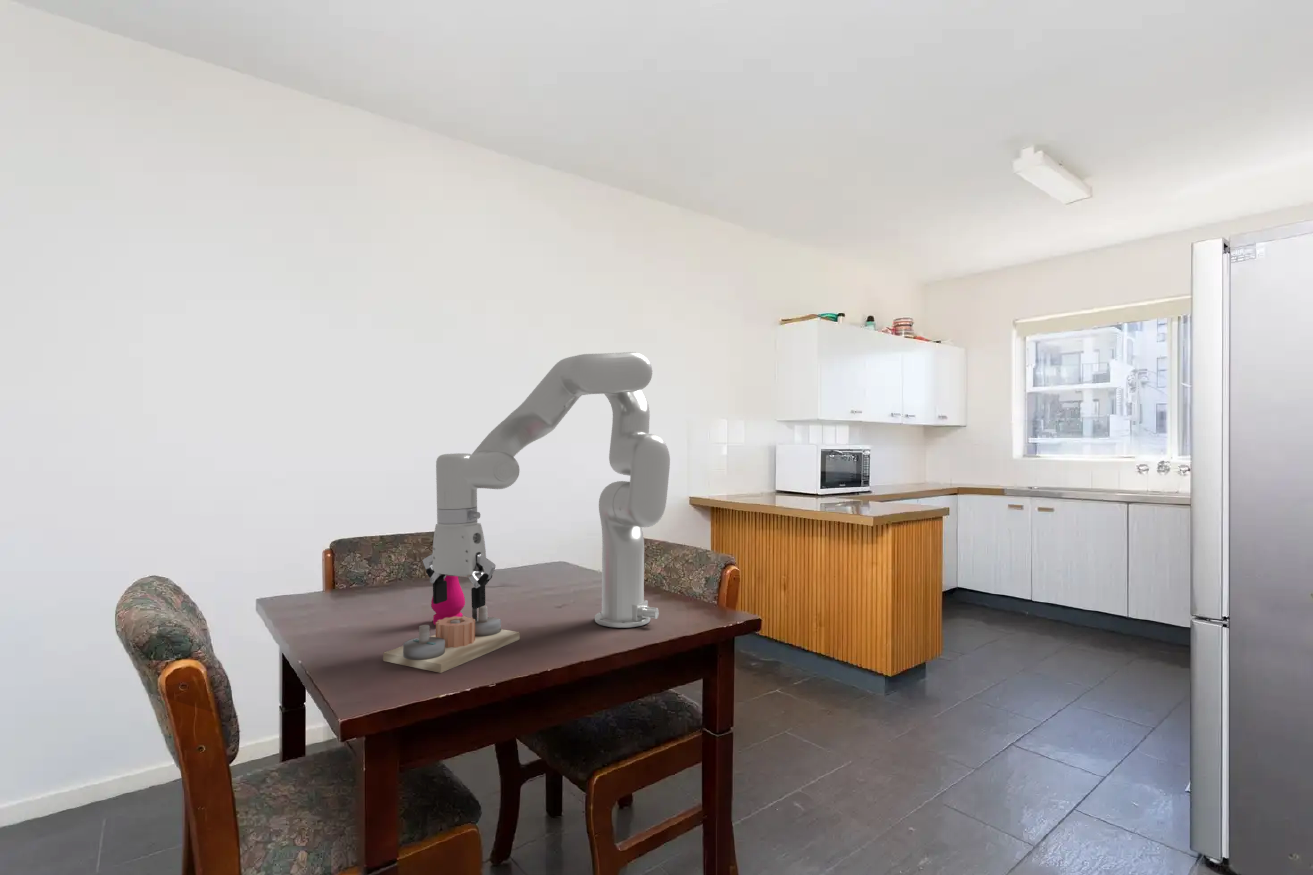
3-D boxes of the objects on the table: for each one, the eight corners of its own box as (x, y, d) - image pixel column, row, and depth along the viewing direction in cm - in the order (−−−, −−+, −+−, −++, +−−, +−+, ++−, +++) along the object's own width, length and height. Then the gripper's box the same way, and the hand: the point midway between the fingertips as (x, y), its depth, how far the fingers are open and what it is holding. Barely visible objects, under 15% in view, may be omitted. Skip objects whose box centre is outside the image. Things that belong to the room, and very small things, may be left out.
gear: (482, 639, 129) (482, 618, 129) (456, 649, 122) (456, 628, 122) (454, 634, 132) (454, 614, 132) (427, 644, 125) (427, 623, 125)
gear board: (521, 638, 134) (521, 606, 135) (438, 674, 114) (439, 636, 114) (468, 629, 141) (468, 599, 141) (380, 661, 120) (381, 626, 120)
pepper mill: (454, 628, 142) (455, 535, 142) (424, 626, 143) (425, 534, 144) (470, 619, 149) (471, 531, 149) (441, 617, 150) (442, 530, 151)
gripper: (505, 516, 127) (507, 604, 127) (437, 513, 135) (439, 596, 135) (479, 521, 120) (481, 614, 120) (409, 517, 128) (411, 605, 128)
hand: (459, 604), depth 128 cm, fingers open, 9 cm apart
